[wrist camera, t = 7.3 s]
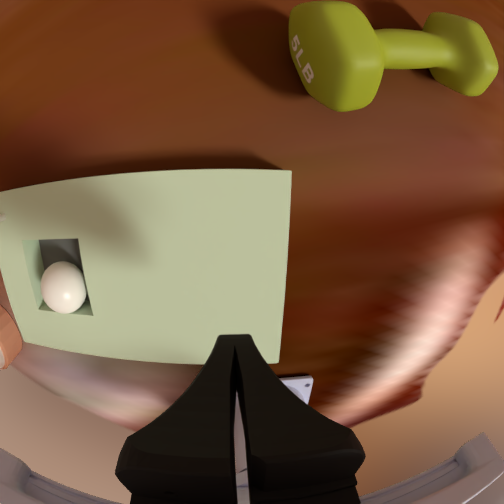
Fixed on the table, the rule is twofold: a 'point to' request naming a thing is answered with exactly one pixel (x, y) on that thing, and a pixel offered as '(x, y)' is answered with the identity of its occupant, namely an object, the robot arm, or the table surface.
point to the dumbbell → (383, 53)
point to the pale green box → (152, 261)
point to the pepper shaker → (8, 339)
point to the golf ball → (63, 287)
